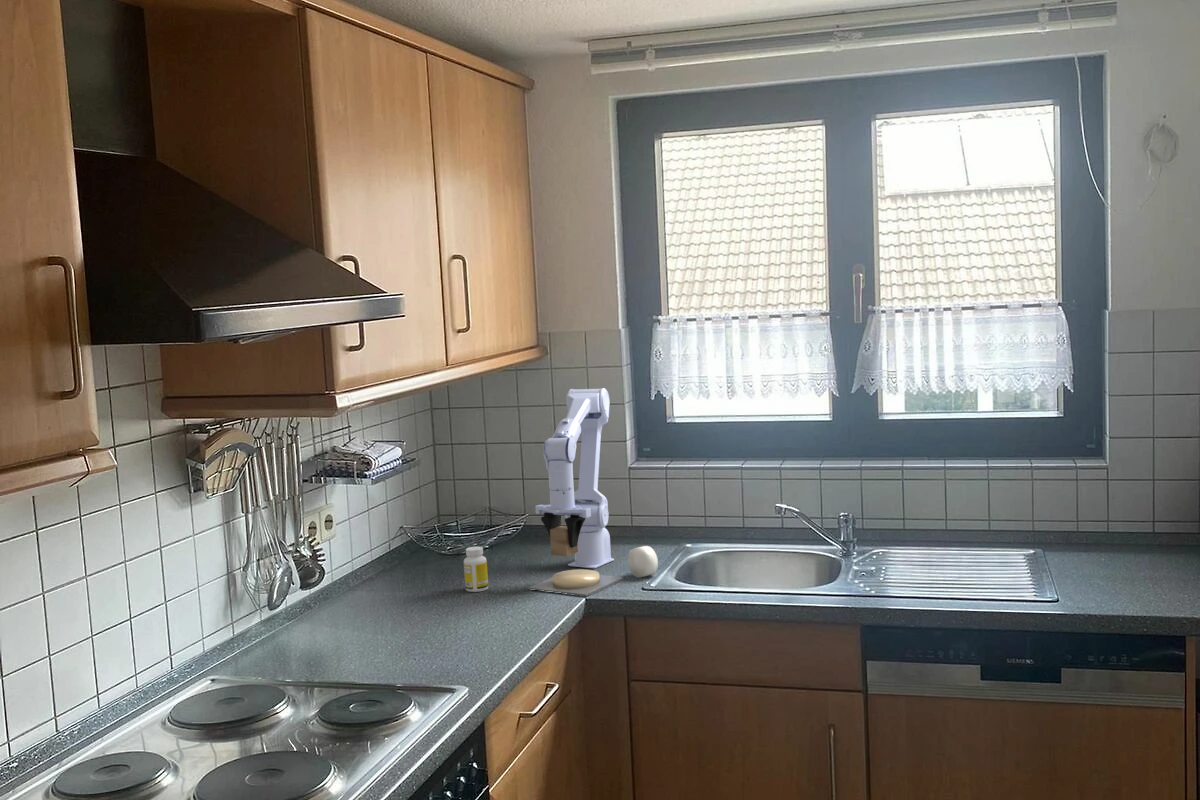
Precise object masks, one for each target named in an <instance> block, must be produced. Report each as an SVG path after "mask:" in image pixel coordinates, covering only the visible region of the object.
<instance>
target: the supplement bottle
mask: <svg viewBox="0 0 1200 800" xmlns="http://www.w3.org/2000/svg"><path fill="white" fill-rule="evenodd" d="M483 554H484V548H483V547H482V546H470V547H467V548H465V555H466V557H465V558H464V559H463V571H464V573H463V574H464V585H465V587H464V589H465V590H466V592H469V593H470V592H471V593H478V592H483V591H484V592H485V591H486V590H488V589H489V575H488V574H489V573H488V561H487V558H486V556H484V555H483Z"/></svg>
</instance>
